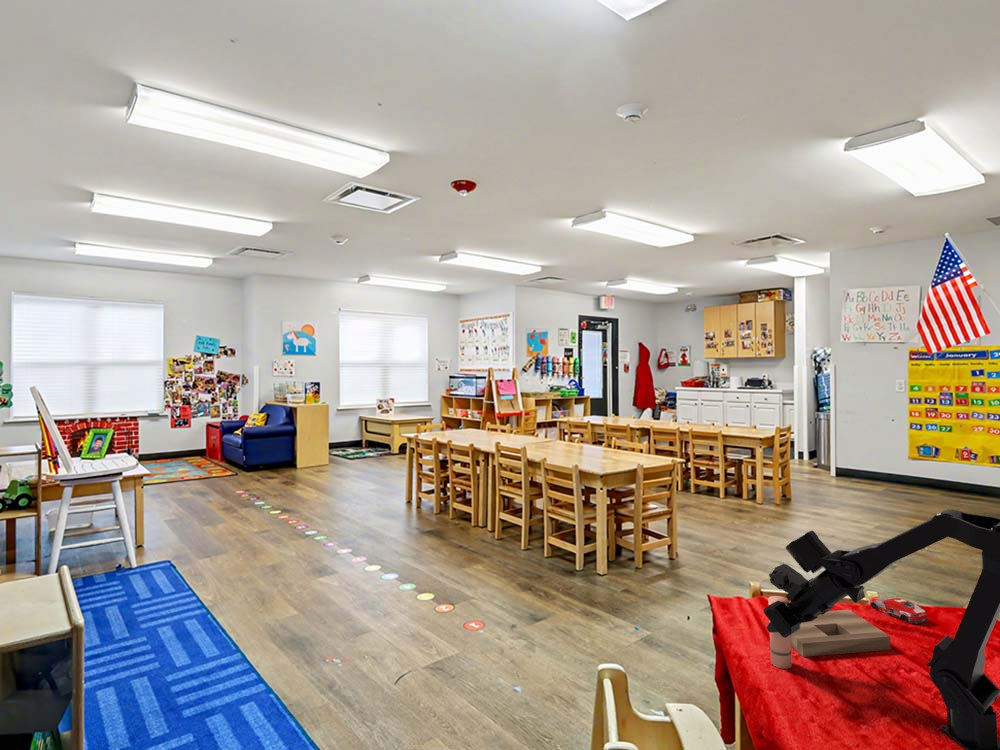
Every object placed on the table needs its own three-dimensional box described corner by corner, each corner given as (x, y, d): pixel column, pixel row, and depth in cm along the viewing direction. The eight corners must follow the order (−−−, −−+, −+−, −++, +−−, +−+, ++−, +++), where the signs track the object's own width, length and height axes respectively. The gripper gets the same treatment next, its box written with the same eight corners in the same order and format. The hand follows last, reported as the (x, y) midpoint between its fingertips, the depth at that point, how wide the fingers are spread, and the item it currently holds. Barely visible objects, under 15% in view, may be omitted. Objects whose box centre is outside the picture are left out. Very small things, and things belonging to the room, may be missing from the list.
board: (890, 649, 129) (889, 636, 129) (802, 656, 128) (802, 643, 128) (849, 621, 143) (848, 609, 143) (770, 628, 142) (769, 615, 142)
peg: (796, 667, 124) (793, 602, 124) (777, 669, 124) (774, 604, 123) (785, 658, 128) (782, 595, 128) (767, 659, 128) (764, 596, 127)
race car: (865, 607, 151) (864, 591, 151) (881, 603, 153) (880, 588, 153) (915, 627, 139) (914, 611, 139) (931, 623, 141) (930, 607, 140)
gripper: (816, 546, 128) (770, 582, 137) (770, 567, 117) (723, 605, 126) (856, 592, 121) (805, 626, 131) (812, 619, 110) (760, 655, 120)
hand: (773, 626), depth 127 cm, fingers closed on peg, 4 cm apart
